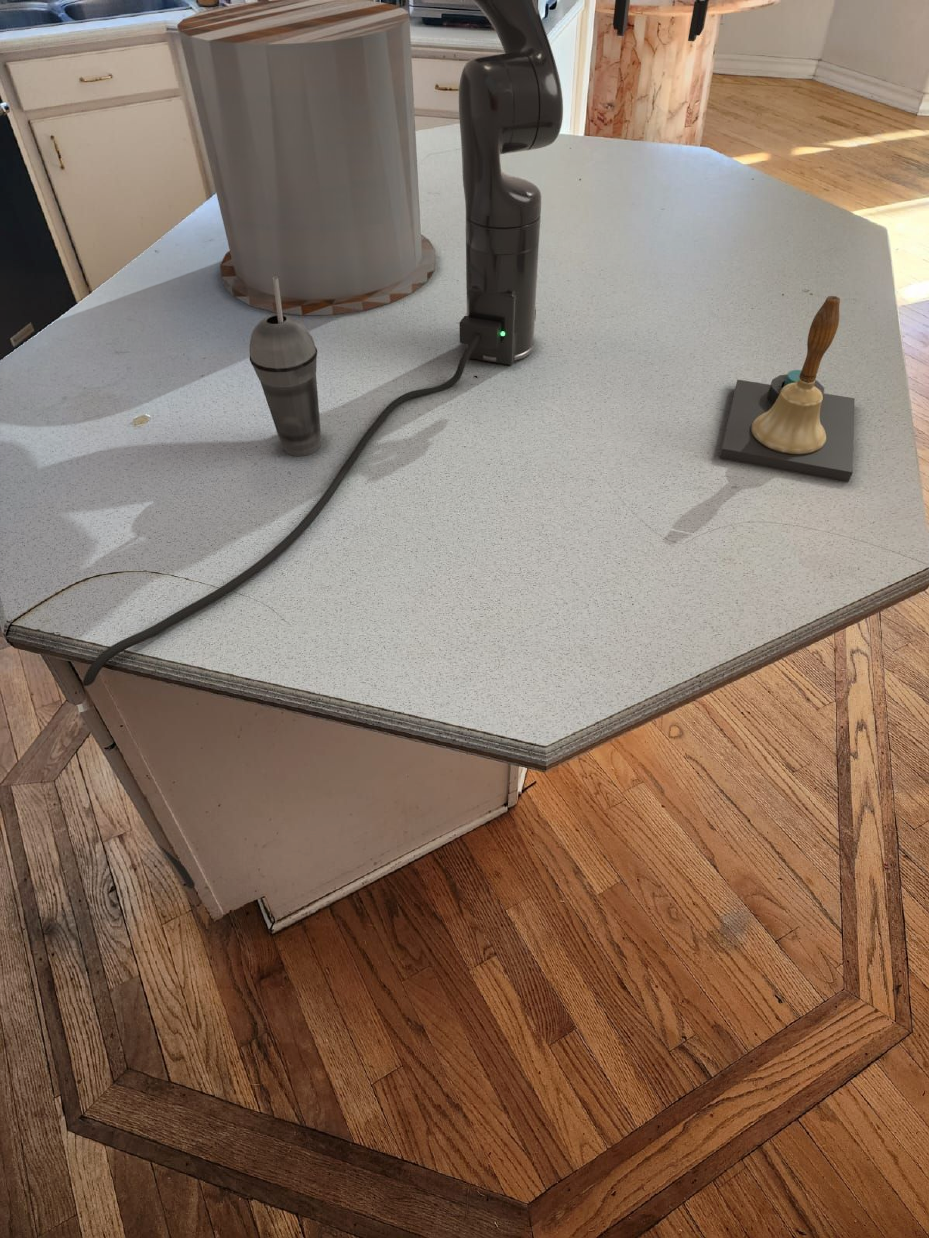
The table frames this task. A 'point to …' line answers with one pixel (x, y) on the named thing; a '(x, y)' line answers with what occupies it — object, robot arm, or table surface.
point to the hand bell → (801, 395)
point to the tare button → (792, 377)
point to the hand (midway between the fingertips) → (656, 37)
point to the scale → (821, 463)
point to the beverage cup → (288, 378)
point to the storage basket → (311, 151)
